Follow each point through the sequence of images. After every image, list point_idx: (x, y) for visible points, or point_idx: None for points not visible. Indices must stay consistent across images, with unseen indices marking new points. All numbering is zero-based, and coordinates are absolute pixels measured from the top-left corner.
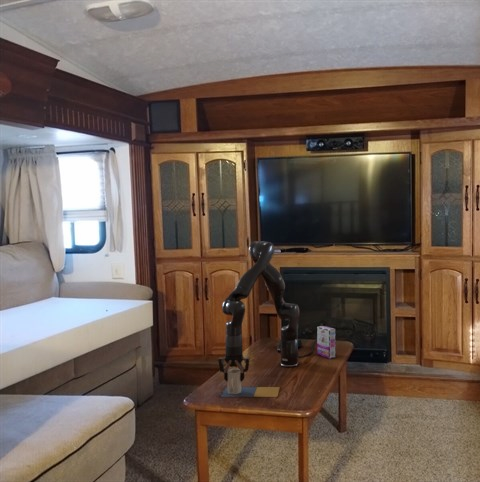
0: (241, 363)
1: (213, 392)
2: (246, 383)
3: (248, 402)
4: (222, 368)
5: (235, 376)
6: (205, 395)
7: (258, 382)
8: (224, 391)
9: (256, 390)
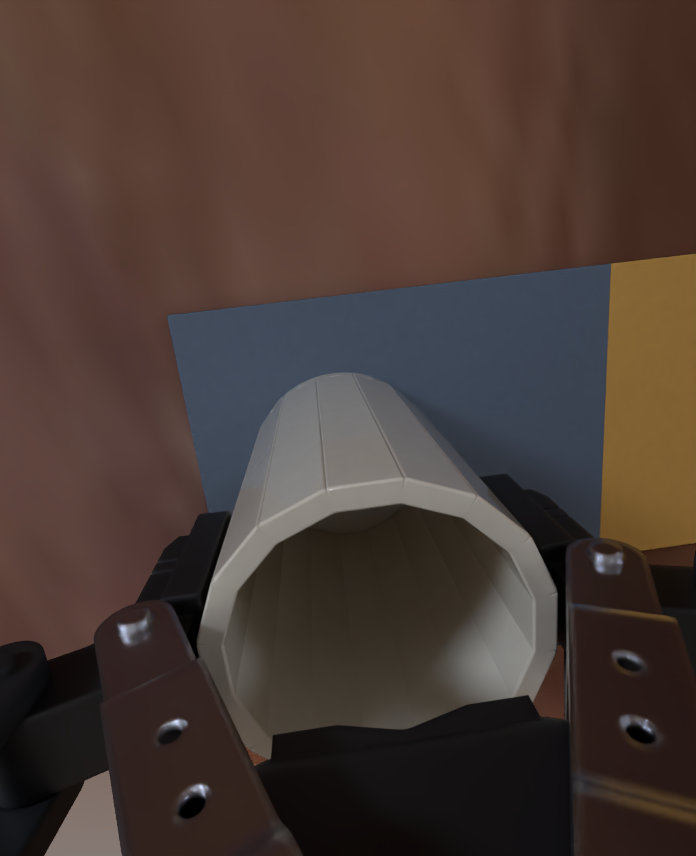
0: (692, 685)
1: (75, 498)
2: (420, 105)
3: (562, 673)
4: (42, 821)
5: (435, 703)
6: (25, 593)
7: (602, 36)
8: (210, 469)
9: (613, 384)
